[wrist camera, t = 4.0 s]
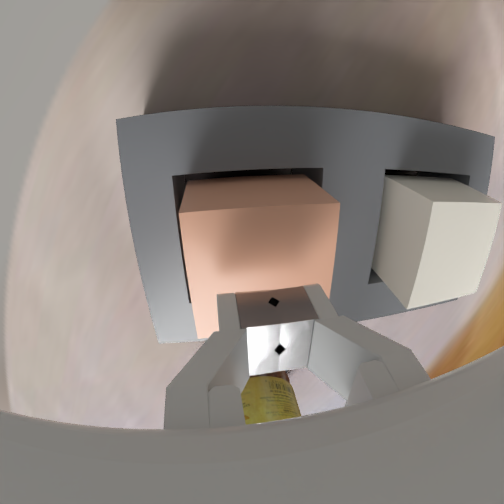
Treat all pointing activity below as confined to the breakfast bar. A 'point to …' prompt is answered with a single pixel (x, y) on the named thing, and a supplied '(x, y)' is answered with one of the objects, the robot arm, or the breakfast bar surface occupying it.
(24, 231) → the breakfast bar surface
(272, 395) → the sauce bottle
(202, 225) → the terracotta key
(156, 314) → the keypad
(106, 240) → the breakfast bar surface
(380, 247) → the cream key
